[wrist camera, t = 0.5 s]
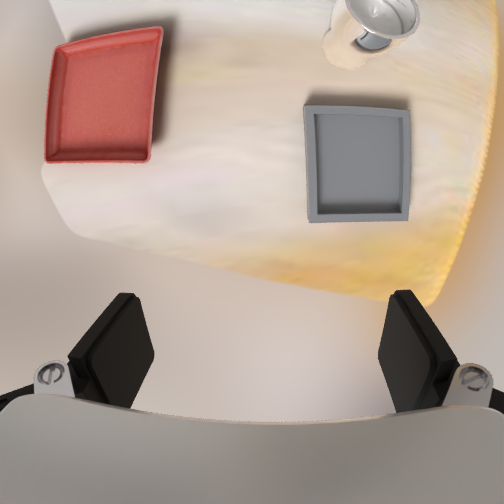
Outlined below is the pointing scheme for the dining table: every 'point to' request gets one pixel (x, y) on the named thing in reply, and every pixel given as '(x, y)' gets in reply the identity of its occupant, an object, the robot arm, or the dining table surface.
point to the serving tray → (357, 163)
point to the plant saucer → (103, 98)
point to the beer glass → (368, 30)
